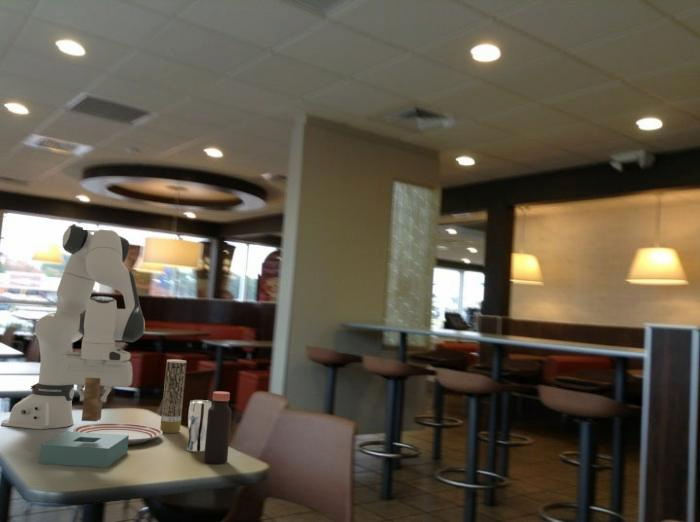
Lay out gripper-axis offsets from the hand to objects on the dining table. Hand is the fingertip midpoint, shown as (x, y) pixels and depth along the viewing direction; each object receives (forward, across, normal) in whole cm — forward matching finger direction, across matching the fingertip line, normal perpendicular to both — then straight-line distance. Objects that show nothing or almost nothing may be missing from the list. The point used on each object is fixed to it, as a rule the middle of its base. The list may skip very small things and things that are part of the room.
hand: (93, 401), depth 175 cm
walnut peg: (+5, 0, 0) cm, 5 cm away
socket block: (+16, -1, 0) cm, 16 cm away
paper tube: (+16, +14, +42) cm, 47 cm away
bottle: (+16, +35, +4) cm, 39 cm away
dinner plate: (+16, +1, +26) cm, 30 cm away
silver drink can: (+16, +28, +16) cm, 36 cm away
